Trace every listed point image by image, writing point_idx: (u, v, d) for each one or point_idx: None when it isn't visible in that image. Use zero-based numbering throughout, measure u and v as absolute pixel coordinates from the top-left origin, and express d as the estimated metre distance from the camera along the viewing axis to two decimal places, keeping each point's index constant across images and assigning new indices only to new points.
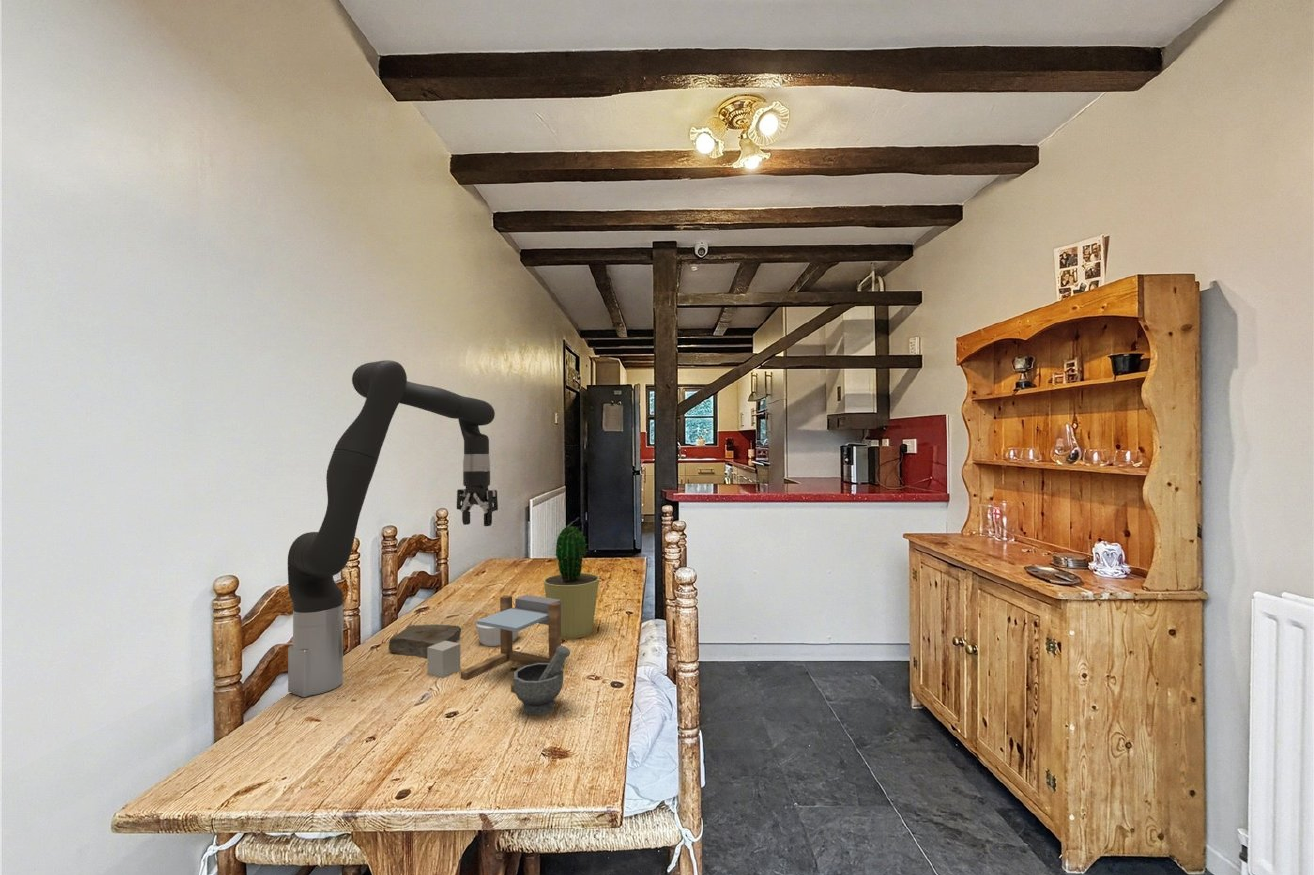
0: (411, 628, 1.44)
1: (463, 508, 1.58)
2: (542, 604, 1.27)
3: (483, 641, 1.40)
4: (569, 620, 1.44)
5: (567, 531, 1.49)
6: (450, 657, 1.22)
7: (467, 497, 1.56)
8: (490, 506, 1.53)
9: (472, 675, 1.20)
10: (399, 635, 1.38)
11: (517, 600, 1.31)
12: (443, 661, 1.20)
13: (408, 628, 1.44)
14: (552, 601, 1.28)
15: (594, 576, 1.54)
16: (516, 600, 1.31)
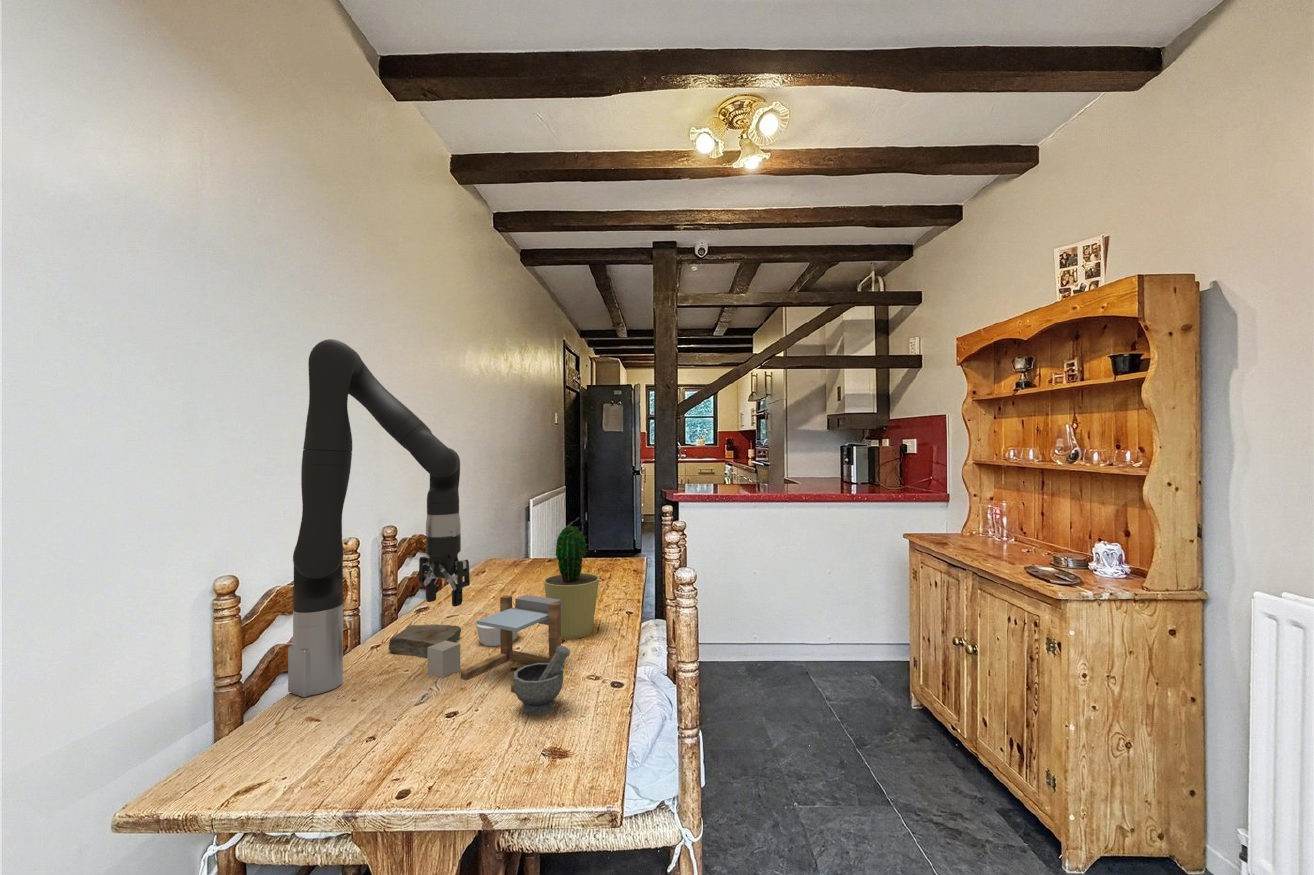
0: (411, 628, 1.44)
1: (427, 581, 1.25)
2: (542, 604, 1.27)
3: (483, 641, 1.40)
4: (569, 620, 1.44)
5: (567, 531, 1.49)
6: (450, 657, 1.22)
7: (431, 568, 1.24)
8: (459, 582, 1.20)
9: (472, 675, 1.20)
10: (399, 635, 1.38)
11: (517, 600, 1.31)
12: (443, 661, 1.20)
13: (408, 628, 1.44)
14: (552, 601, 1.28)
15: (594, 576, 1.54)
16: (516, 600, 1.31)
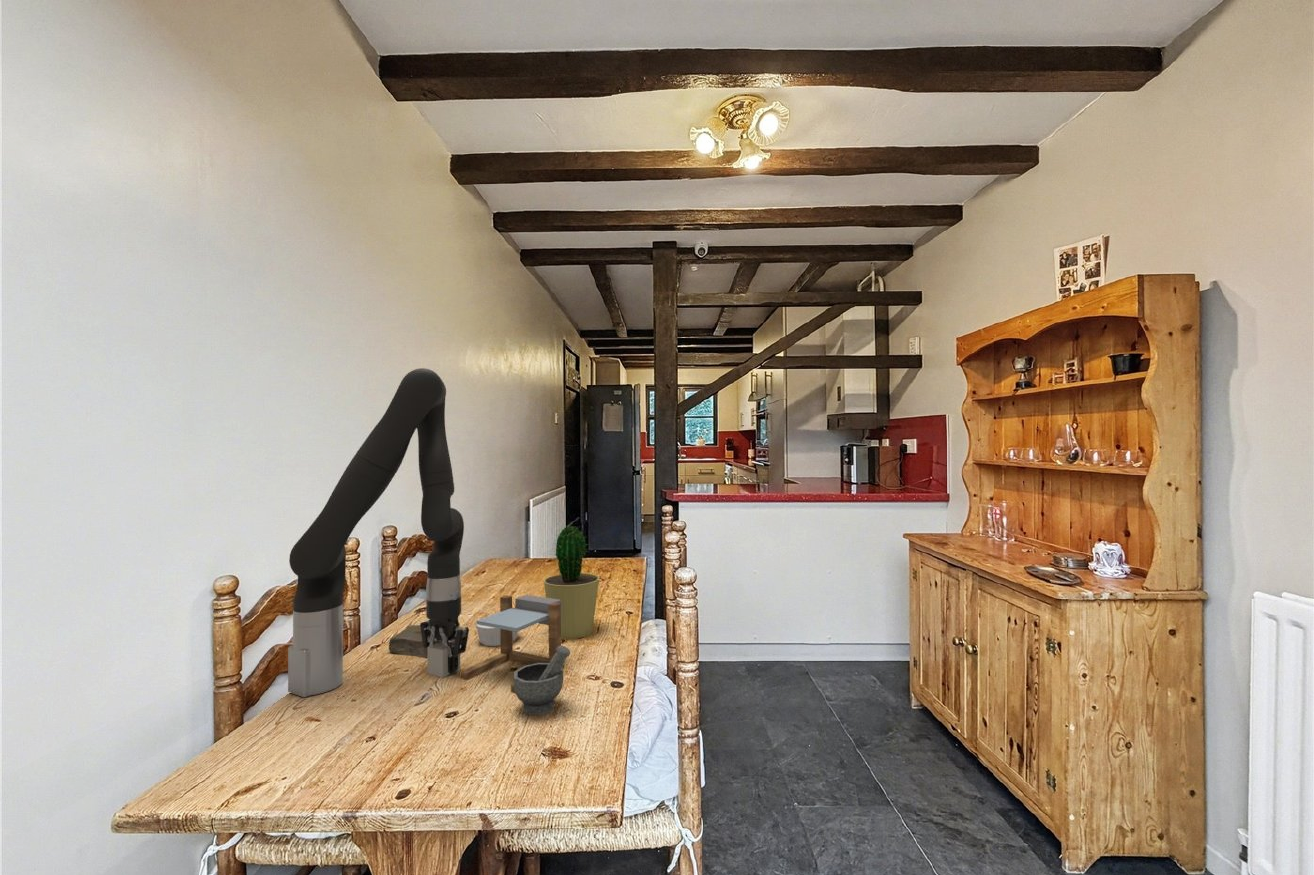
0: (411, 628, 1.44)
1: None
2: (542, 604, 1.27)
3: (483, 641, 1.40)
4: (569, 620, 1.44)
5: (567, 531, 1.49)
6: None
7: (432, 632, 1.23)
8: (456, 650, 1.20)
9: (472, 675, 1.20)
10: (399, 635, 1.38)
11: (517, 600, 1.31)
12: (443, 661, 1.20)
13: (408, 628, 1.44)
14: (552, 601, 1.28)
15: (594, 576, 1.54)
16: (516, 600, 1.31)
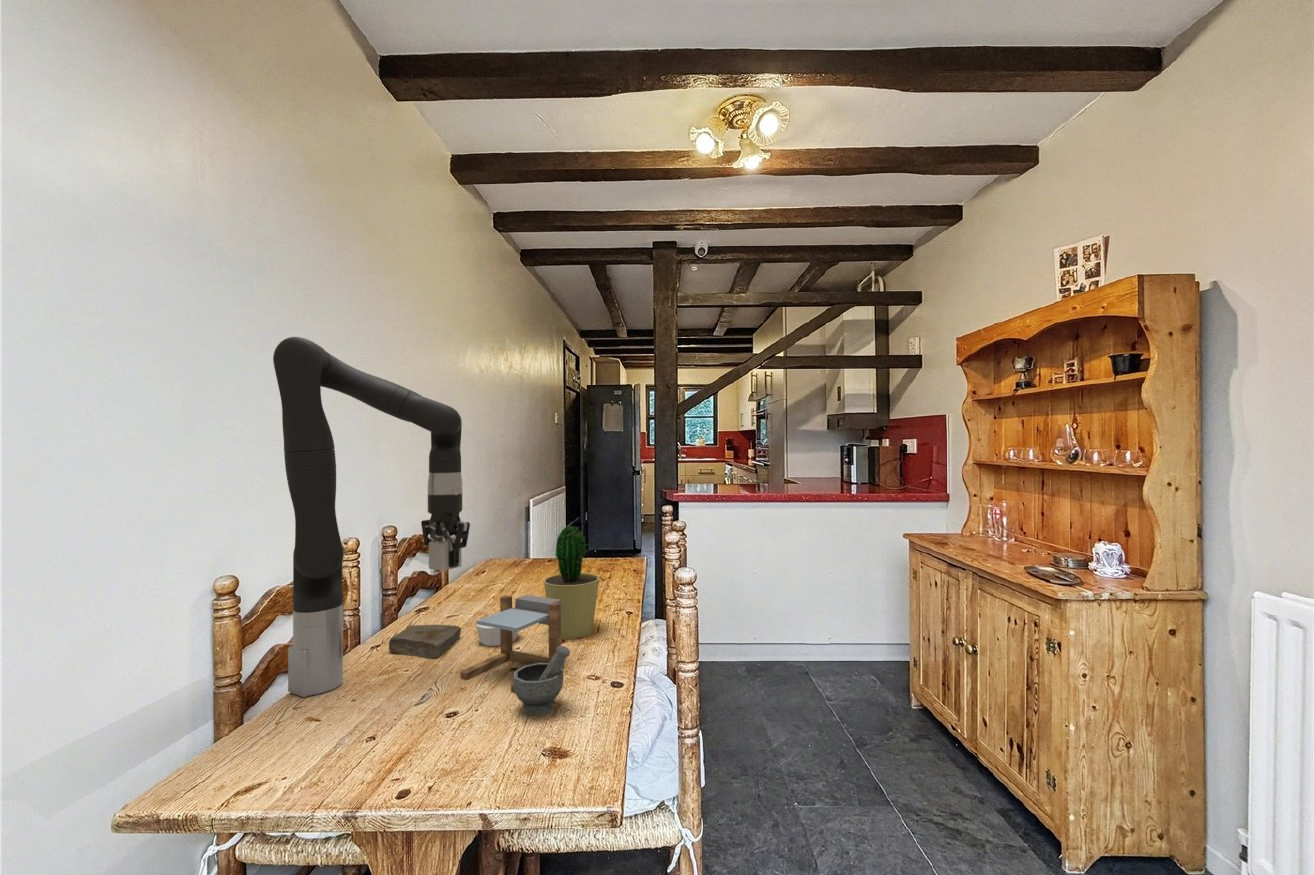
0: (411, 628, 1.44)
1: None
2: (542, 604, 1.27)
3: (483, 641, 1.40)
4: (569, 620, 1.44)
5: (567, 531, 1.49)
6: None
7: (433, 527, 1.24)
8: (457, 543, 1.21)
9: (472, 675, 1.20)
10: (399, 635, 1.38)
11: (517, 600, 1.31)
12: (444, 554, 1.21)
13: (408, 628, 1.44)
14: (552, 601, 1.28)
15: (594, 576, 1.54)
16: (516, 600, 1.31)
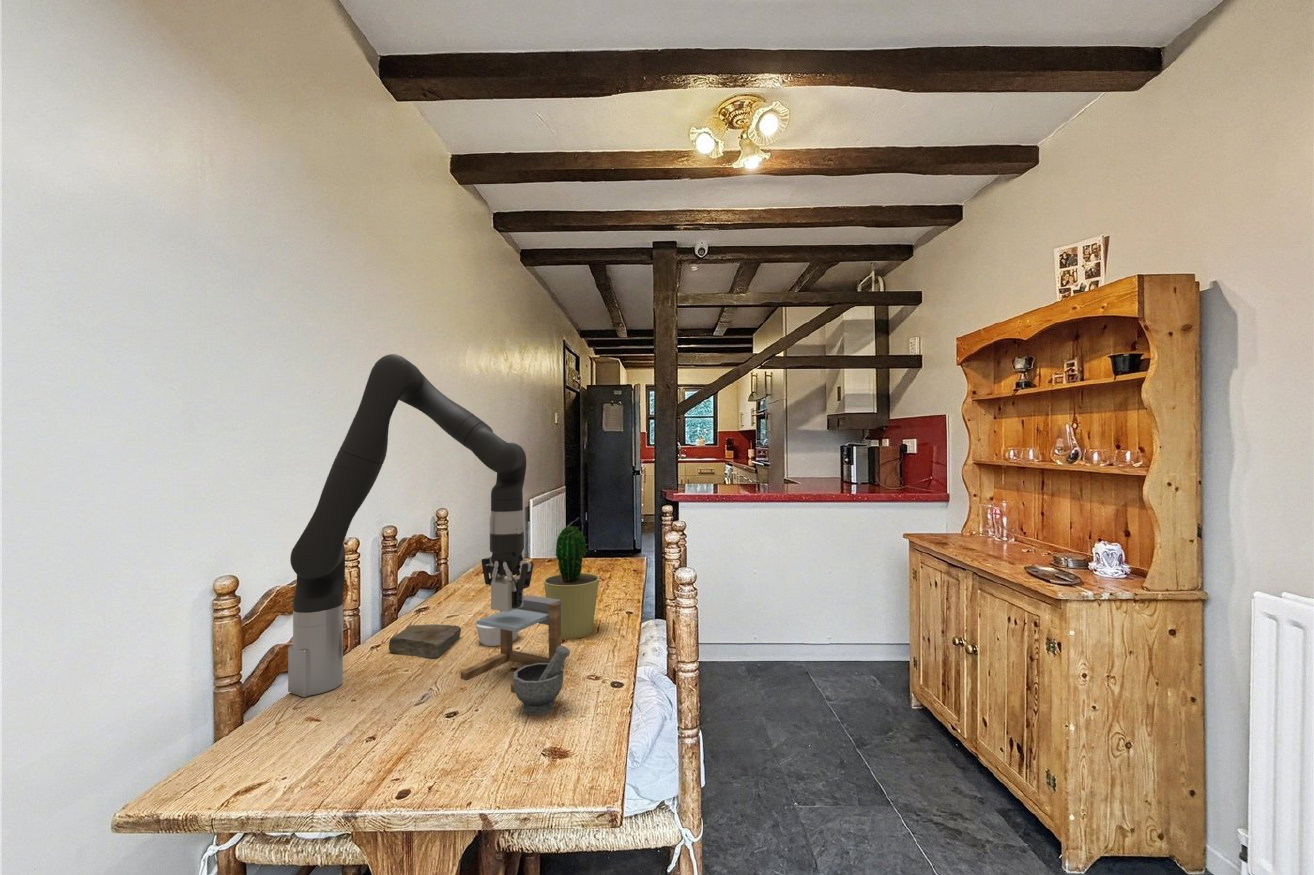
0: (411, 628, 1.44)
1: None
2: (542, 604, 1.27)
3: (483, 641, 1.40)
4: (569, 620, 1.44)
5: (567, 531, 1.49)
6: None
7: (495, 567, 1.21)
8: (521, 584, 1.18)
9: (472, 675, 1.20)
10: (399, 635, 1.38)
11: None
12: (508, 595, 1.18)
13: (408, 628, 1.44)
14: (552, 601, 1.28)
15: (594, 576, 1.54)
16: None
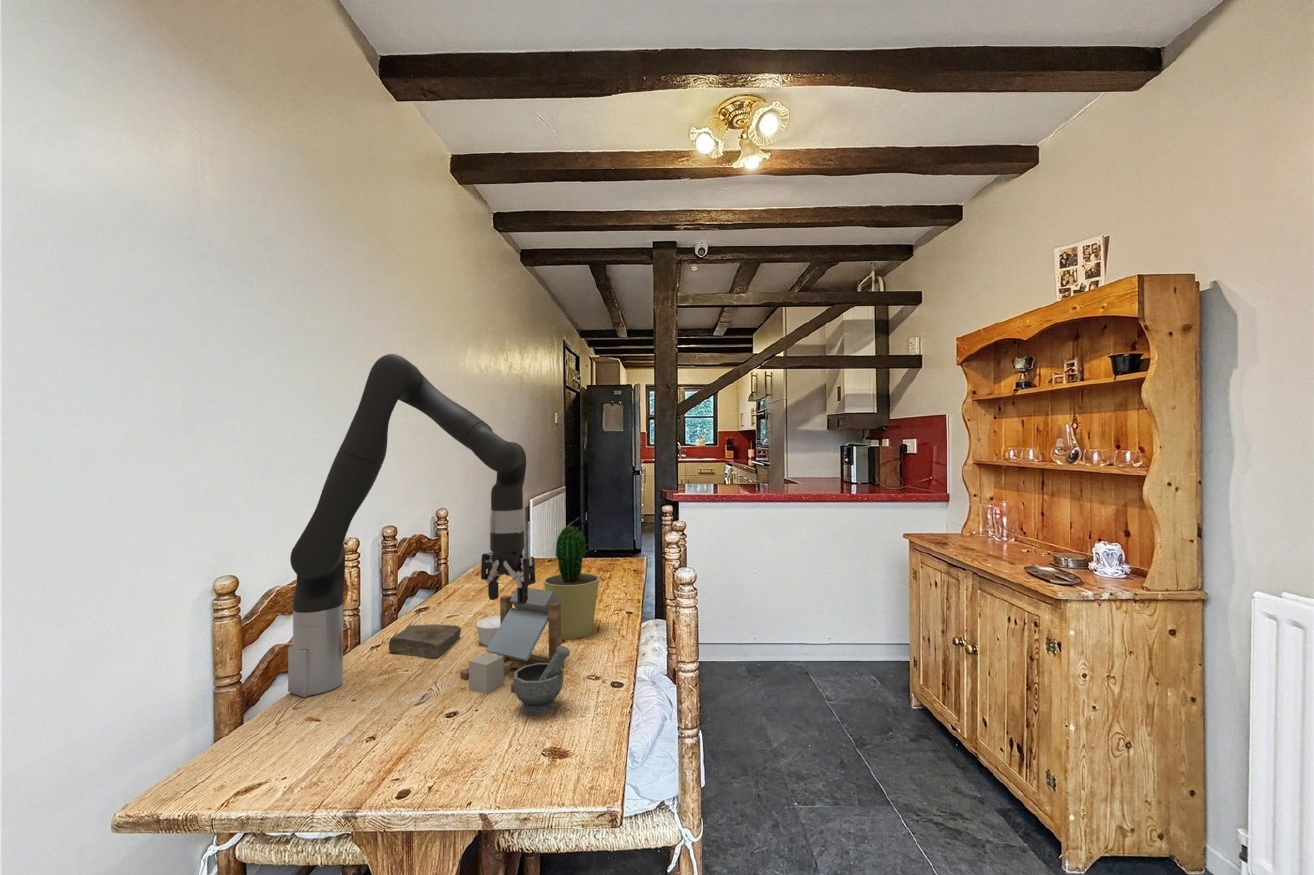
0: (411, 628, 1.44)
1: (490, 579, 1.22)
2: (538, 606, 1.25)
3: (483, 641, 1.40)
4: (569, 620, 1.44)
5: (567, 531, 1.49)
6: (496, 678, 1.14)
7: (495, 565, 1.21)
8: (526, 579, 1.17)
9: None
10: (399, 635, 1.38)
11: (512, 601, 1.29)
12: (502, 673, 1.16)
13: (408, 628, 1.44)
14: (545, 598, 1.26)
15: (594, 576, 1.54)
16: (511, 601, 1.29)
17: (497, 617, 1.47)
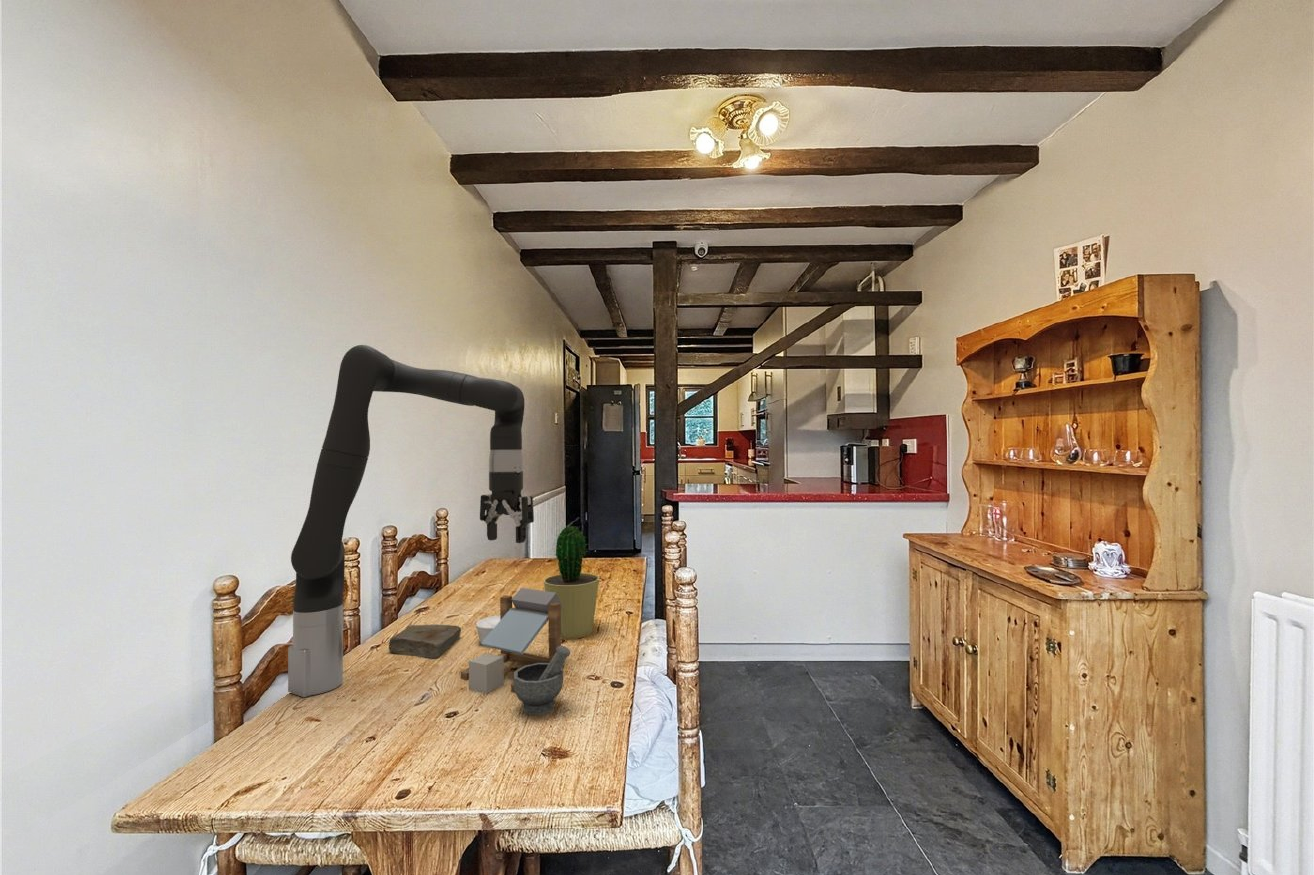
0: (411, 628, 1.44)
1: (488, 519, 1.23)
2: (539, 605, 1.26)
3: None
4: (569, 620, 1.44)
5: (567, 531, 1.49)
6: (496, 678, 1.14)
7: (494, 505, 1.21)
8: (524, 517, 1.18)
9: None
10: (399, 635, 1.38)
11: (513, 600, 1.30)
12: (502, 673, 1.16)
13: (408, 628, 1.44)
14: (547, 598, 1.27)
15: (594, 576, 1.54)
16: (513, 600, 1.30)
17: (497, 617, 1.47)
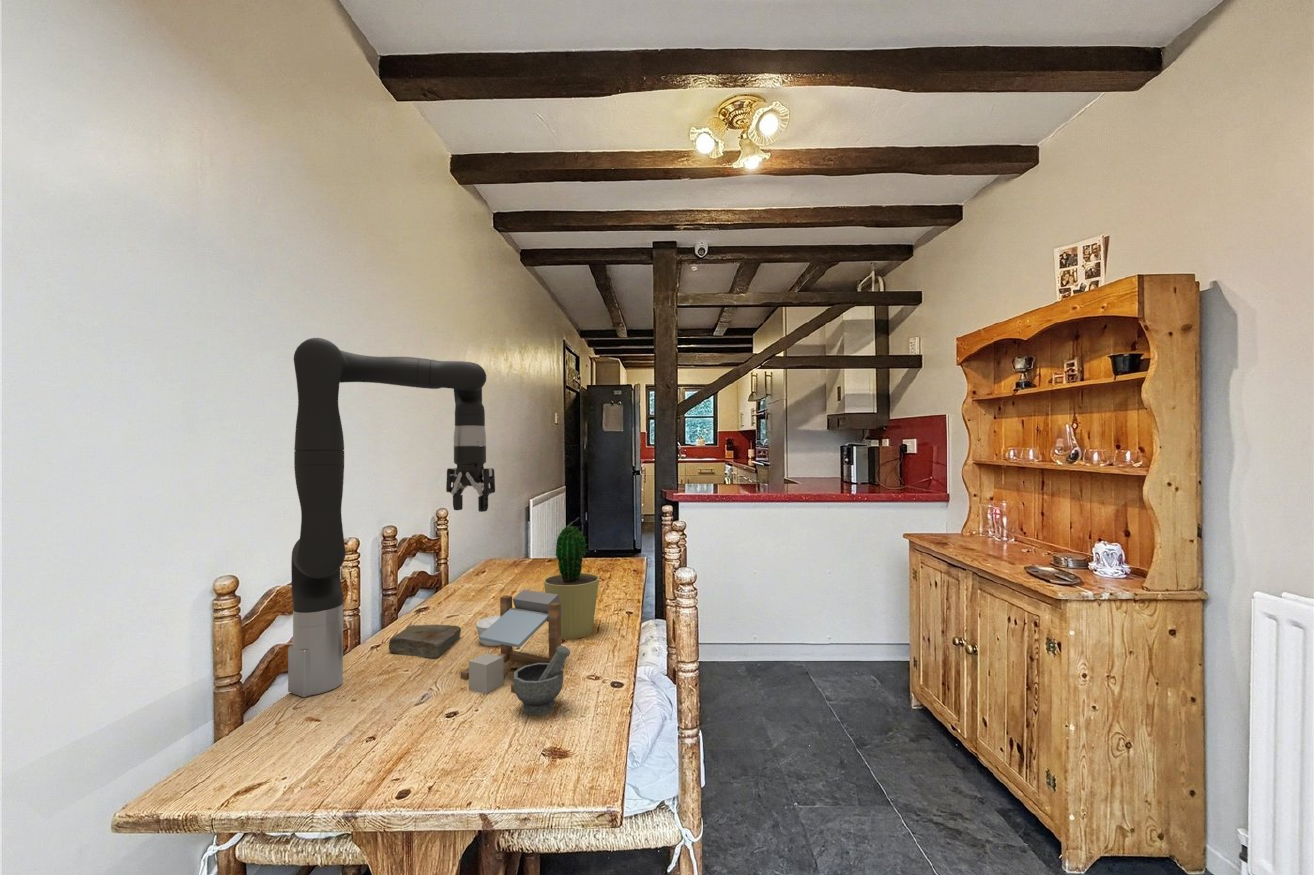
0: (411, 628, 1.44)
1: (454, 490, 1.33)
2: (540, 604, 1.26)
3: (483, 641, 1.40)
4: (569, 620, 1.44)
5: (567, 531, 1.49)
6: (496, 678, 1.14)
7: (459, 477, 1.31)
8: (486, 487, 1.28)
9: None
10: (399, 635, 1.38)
11: (515, 600, 1.30)
12: (502, 673, 1.16)
13: (408, 628, 1.44)
14: (549, 598, 1.27)
15: (594, 576, 1.54)
16: (514, 600, 1.30)
17: (497, 617, 1.47)
